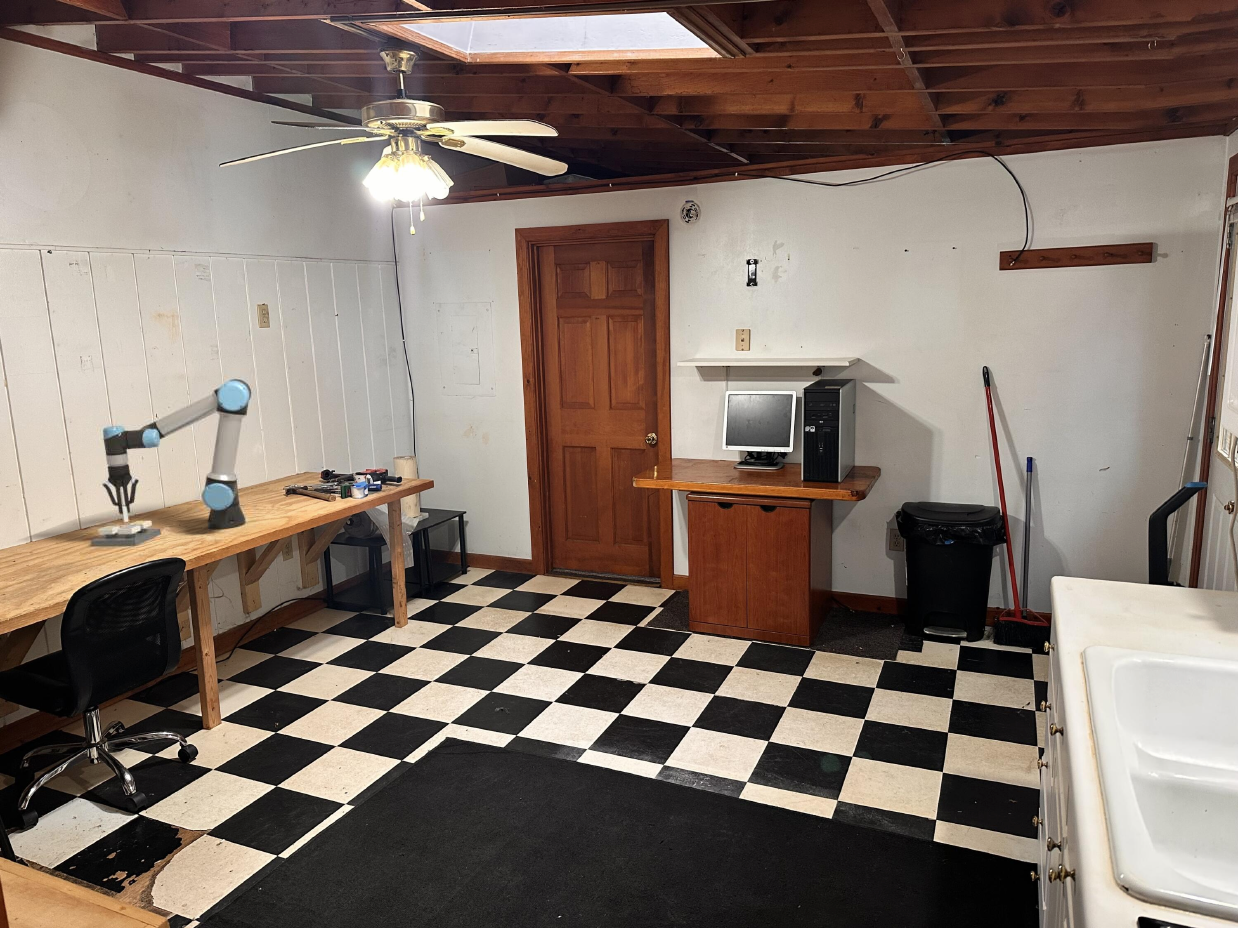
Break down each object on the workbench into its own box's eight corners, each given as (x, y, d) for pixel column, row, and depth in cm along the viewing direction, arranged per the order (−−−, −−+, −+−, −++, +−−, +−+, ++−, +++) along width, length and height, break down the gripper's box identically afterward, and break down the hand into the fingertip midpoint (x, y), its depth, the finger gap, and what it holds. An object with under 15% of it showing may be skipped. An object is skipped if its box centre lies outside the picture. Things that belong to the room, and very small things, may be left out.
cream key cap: (152, 529, 360) (151, 520, 360) (144, 533, 355) (143, 523, 354) (139, 529, 361) (137, 520, 360) (130, 533, 355) (129, 523, 354)
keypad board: (160, 533, 363) (160, 528, 362) (135, 545, 345) (134, 540, 345) (119, 534, 364) (118, 528, 363) (92, 546, 346) (91, 540, 346)
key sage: (122, 535, 353) (120, 525, 352) (113, 538, 347) (112, 528, 346) (108, 535, 353) (107, 525, 352) (99, 539, 348) (98, 529, 347)
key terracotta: (134, 534, 361) (133, 524, 360) (126, 537, 355) (124, 527, 355) (121, 534, 361) (119, 524, 361) (112, 537, 356) (111, 528, 355)
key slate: (141, 534, 353) (139, 524, 352) (132, 538, 347) (131, 528, 346) (127, 535, 353) (126, 525, 352) (118, 538, 347) (117, 528, 346)
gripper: (134, 461, 354) (141, 516, 359) (97, 465, 346) (105, 522, 350) (138, 463, 349) (145, 519, 353) (101, 468, 340) (109, 525, 345)
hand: (125, 521), depth 352 cm, fingers closed
